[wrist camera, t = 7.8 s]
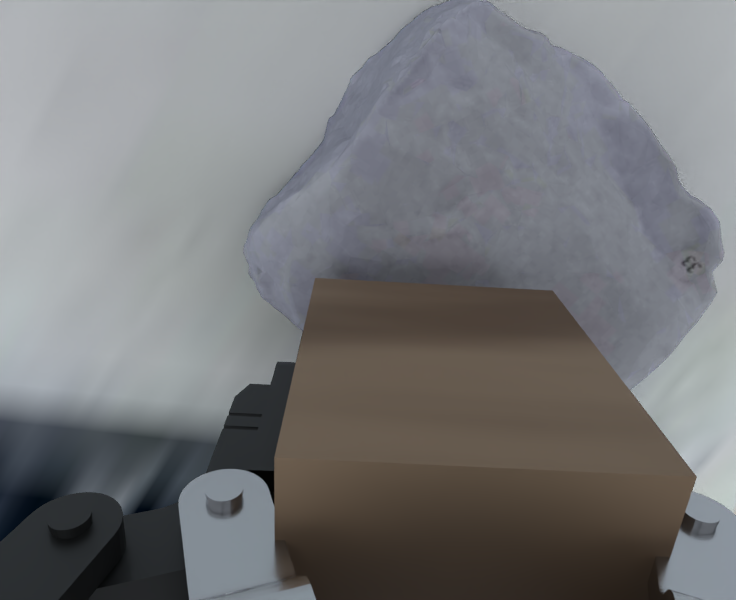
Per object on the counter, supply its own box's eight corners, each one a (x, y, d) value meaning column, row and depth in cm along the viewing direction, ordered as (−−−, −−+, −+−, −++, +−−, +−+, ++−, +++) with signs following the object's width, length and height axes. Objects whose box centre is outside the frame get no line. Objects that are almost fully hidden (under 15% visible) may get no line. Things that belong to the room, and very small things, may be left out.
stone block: (418, -24, 18) (224, 253, 19) (470, -83, 13) (209, 290, 14) (683, 215, 21) (504, 439, 22) (800, 236, 16) (565, 518, 17)
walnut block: (314, 277, 13) (274, 456, 7) (552, 290, 13) (696, 476, 7) (310, 472, 14) (274, 734, 9) (516, 482, 15) (608, 746, 9)
